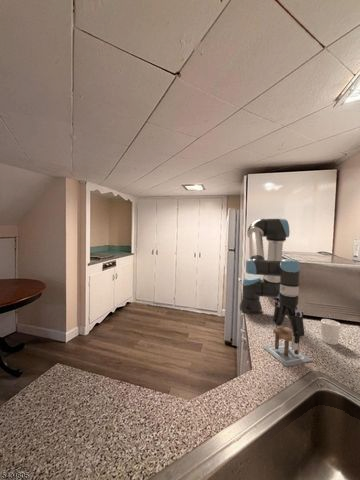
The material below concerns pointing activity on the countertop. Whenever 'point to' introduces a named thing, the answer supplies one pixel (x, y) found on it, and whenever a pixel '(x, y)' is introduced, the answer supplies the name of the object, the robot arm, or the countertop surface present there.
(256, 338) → the countertop surface
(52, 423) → the countertop surface
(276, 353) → the mat
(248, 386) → the countertop surface
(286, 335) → the stool
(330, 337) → the white cup
